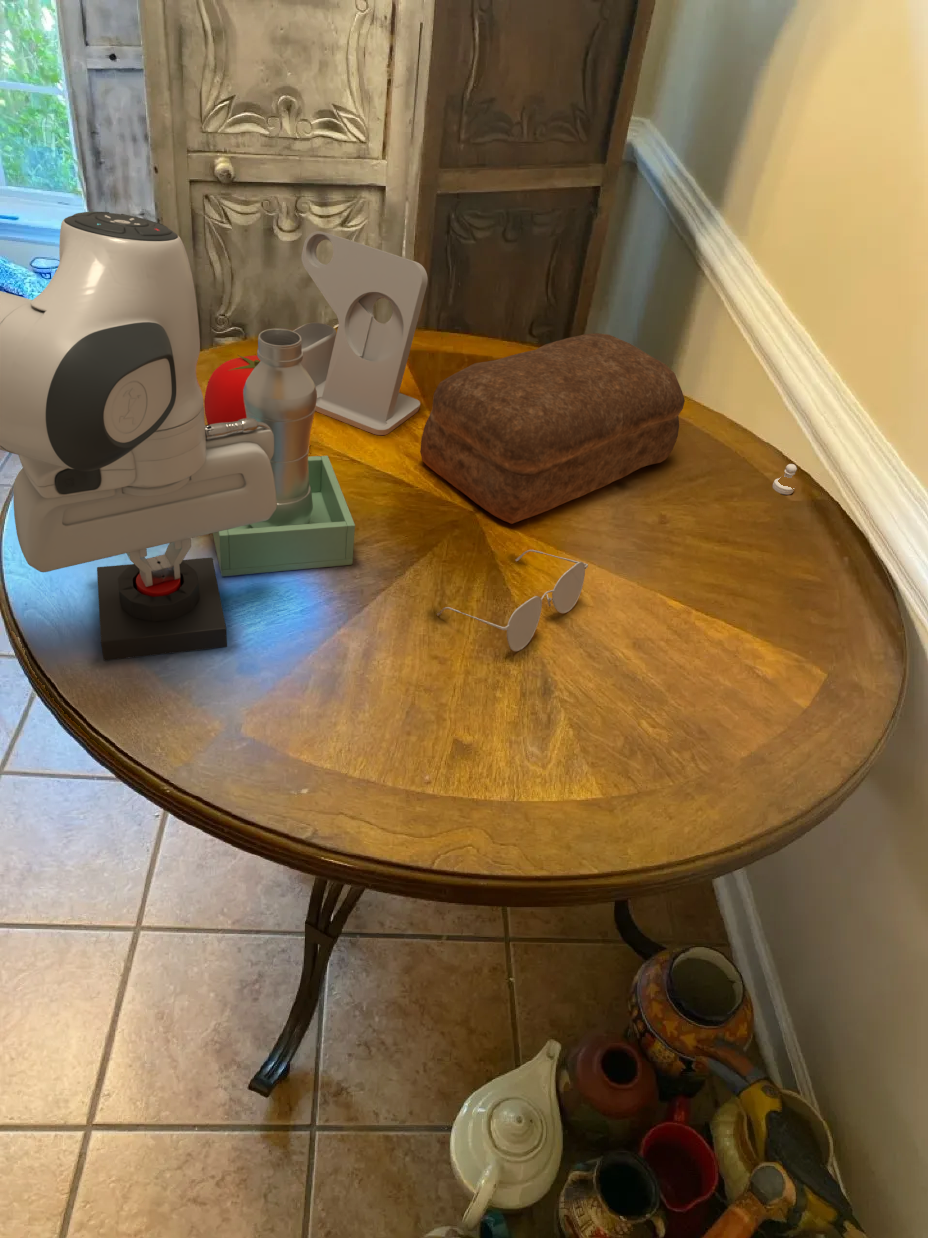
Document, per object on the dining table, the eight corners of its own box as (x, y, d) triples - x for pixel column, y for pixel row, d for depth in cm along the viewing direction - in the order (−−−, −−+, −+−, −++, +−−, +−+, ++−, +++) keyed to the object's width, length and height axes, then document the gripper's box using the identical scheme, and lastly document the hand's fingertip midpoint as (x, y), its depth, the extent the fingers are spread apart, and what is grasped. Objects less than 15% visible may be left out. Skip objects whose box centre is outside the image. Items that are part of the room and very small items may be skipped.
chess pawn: (770, 490, 112) (780, 466, 110) (773, 481, 114) (783, 456, 112) (791, 497, 112) (802, 472, 109) (793, 487, 114) (804, 463, 111)
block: (103, 661, 76) (97, 625, 73) (99, 585, 83) (94, 550, 80) (227, 647, 79) (225, 612, 76) (213, 575, 86) (211, 541, 83)
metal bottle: (236, 513, 93) (231, 323, 80) (301, 504, 95) (306, 319, 82) (254, 550, 88) (250, 356, 75) (321, 539, 91) (329, 351, 78)
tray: (221, 576, 86) (219, 535, 83) (206, 501, 95) (203, 461, 92) (352, 564, 90) (355, 525, 87) (326, 493, 99) (327, 455, 96)
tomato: (188, 460, 100) (182, 369, 93) (229, 417, 108) (226, 330, 101) (279, 483, 99) (279, 393, 92) (314, 438, 107) (317, 352, 100)
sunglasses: (504, 663, 82) (506, 618, 79) (432, 629, 86) (431, 585, 84) (586, 597, 91) (590, 554, 88) (517, 569, 95) (520, 527, 93)
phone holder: (263, 390, 114) (262, 243, 102) (311, 363, 121) (314, 223, 110) (382, 437, 109) (395, 289, 98) (424, 406, 116) (440, 264, 105)
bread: (679, 462, 115) (711, 364, 106) (504, 536, 97) (526, 426, 89) (581, 402, 123) (604, 307, 115) (404, 461, 106) (416, 354, 97)
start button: (139, 610, 78) (137, 594, 76) (136, 583, 80) (134, 567, 79) (183, 605, 79) (182, 590, 78) (179, 579, 81) (178, 564, 80)
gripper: (257, 396, 76) (259, 531, 85) (-9, 439, 66) (26, 587, 75) (289, 433, 72) (288, 570, 81) (13, 484, 63) (46, 634, 72)
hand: (160, 578), depth 78 cm, fingers closed, pressing on start button
